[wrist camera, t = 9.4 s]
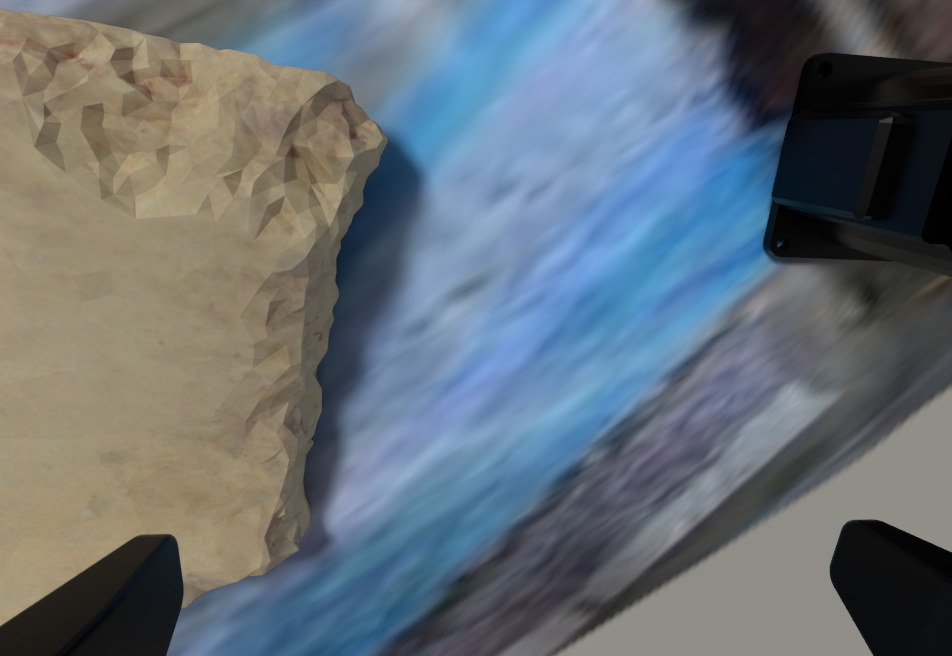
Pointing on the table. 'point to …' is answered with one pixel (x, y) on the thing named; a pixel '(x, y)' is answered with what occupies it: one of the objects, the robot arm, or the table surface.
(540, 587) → the table surface
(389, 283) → the table surface
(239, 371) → the tan curved tapered piece
